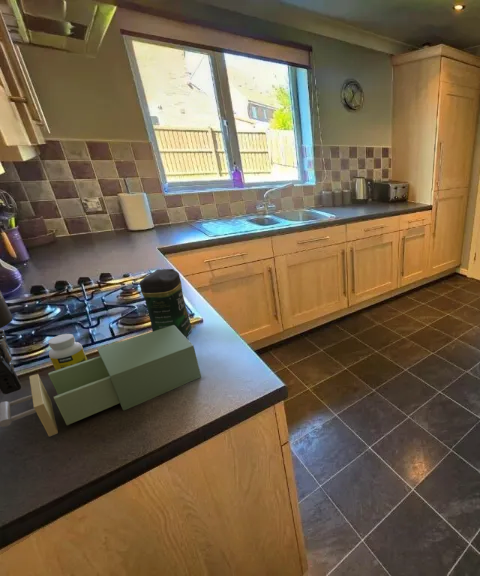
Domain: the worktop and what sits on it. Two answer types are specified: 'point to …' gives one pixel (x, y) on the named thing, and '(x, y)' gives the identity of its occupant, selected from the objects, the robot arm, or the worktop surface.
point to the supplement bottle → (65, 351)
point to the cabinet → (150, 365)
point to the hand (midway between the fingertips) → (12, 389)
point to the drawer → (67, 395)
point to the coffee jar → (165, 300)
